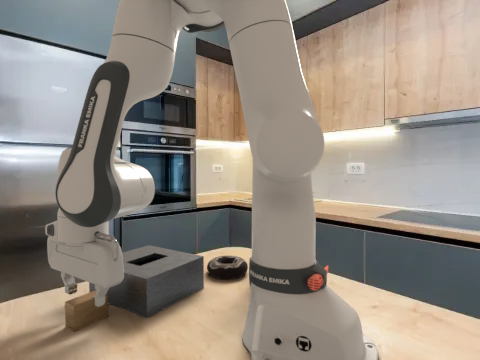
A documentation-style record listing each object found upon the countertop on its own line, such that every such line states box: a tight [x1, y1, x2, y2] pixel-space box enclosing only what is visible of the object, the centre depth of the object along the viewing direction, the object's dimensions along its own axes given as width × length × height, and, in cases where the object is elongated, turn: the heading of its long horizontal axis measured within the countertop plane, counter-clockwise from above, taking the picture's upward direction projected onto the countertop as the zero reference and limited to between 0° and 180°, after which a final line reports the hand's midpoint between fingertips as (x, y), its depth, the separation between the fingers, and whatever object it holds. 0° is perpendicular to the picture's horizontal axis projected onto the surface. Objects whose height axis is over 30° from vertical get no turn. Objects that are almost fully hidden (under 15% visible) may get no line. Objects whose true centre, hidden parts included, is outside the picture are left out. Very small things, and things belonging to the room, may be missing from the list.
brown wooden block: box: [64, 290, 109, 332], centre depth 59 cm, size 3×7×5 cm, turn 148°
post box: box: [88, 244, 205, 319], centre depth 73 cm, size 20×18×8 cm
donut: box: [206, 255, 249, 280], centre depth 86 cm, size 12×12×4 cm
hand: (84, 298), depth 59 cm, fingers open, 8 cm apart
